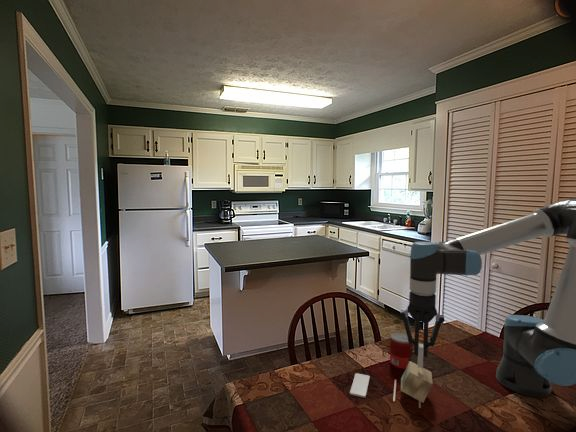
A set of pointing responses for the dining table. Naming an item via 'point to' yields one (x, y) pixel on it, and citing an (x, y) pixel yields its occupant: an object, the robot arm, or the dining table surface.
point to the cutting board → (365, 386)
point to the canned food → (400, 350)
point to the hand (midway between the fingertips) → (420, 365)
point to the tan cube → (416, 381)
